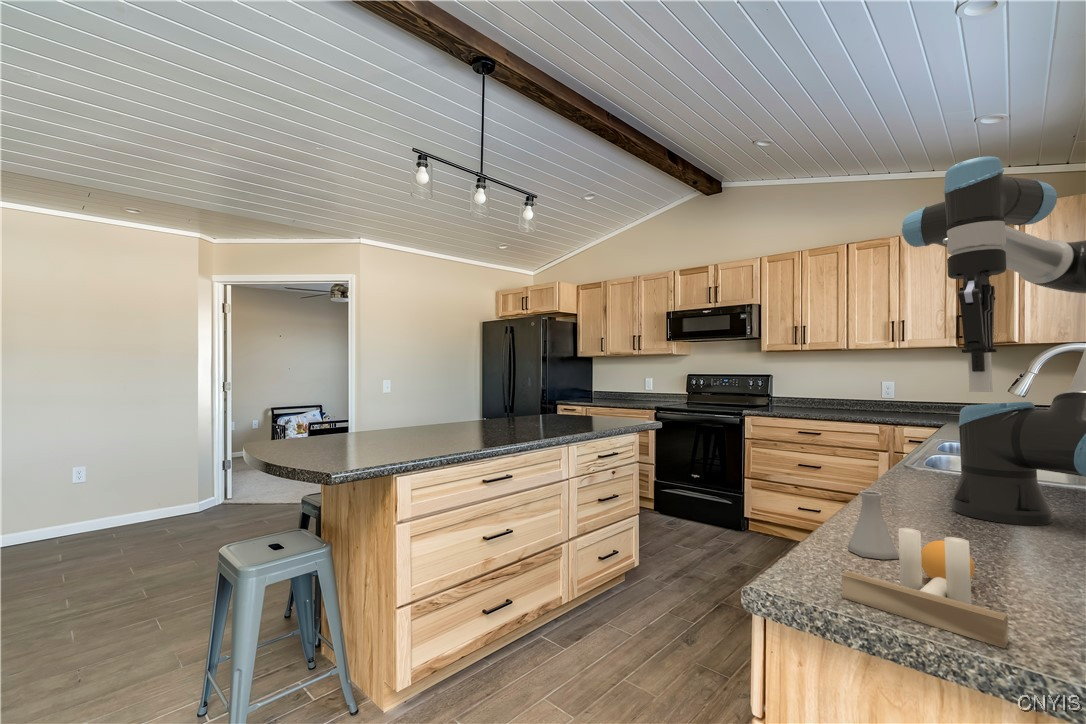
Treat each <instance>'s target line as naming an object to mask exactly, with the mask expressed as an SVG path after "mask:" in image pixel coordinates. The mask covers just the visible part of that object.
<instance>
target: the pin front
mask: <svg viewBox="0 0 1086 724" xmlns="http://www.w3.org/2000/svg"><path fill="white" fill-rule="evenodd" d="M919 591H923V592H927V593H930V594H934V595H938V596H941V597H945V598H947V592H946V579H944V578H941V577H936V578H933V579H930V581H929V582H928V583H926V584H925V585H923V588H922V589H920V590H919Z"/></svg>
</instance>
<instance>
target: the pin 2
mask: <svg viewBox="0 0 1086 724" xmlns="http://www.w3.org/2000/svg"><path fill="white" fill-rule="evenodd" d="M944 541H945V565H946V592H947V598H949V599H952V600H956V601H960V602H963V603H967V604H971V605H972V583H971V580H972V579H971V578H970V556H971V555H970V554H971V553H970V541H969V540H967V539H964V538H961V537H956V536H955V537H954V536H945V537H944Z"/></svg>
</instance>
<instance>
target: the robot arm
mask: <svg viewBox="0 0 1086 724" xmlns="http://www.w3.org/2000/svg"><path fill="white" fill-rule="evenodd" d="M1004 172H1005V169H1004V168H1003V163H1002V160H1001V158H1000V157H997V156H989V155H988V156H979V157H975V158H971V159H967V160H964V161H961V162H958V163H956V164H954V165H951V166H950V167H949V168H948V169H947V170H946V171H945V174H944V190H943V194H944V201H942V202H939V203H935V204H933V205H930V206H924V207H922V208H920V209H917V210H916V211H912V212H911V213H909V214H907V215H906V217H904V219H903V221H902V227H901V233H902V236H903V239H904V241H905V242H906V243H907V244H908V245H909V246H910V247H914V248H919V247H928V246H930V245H938V246H942V247H944V248H946V250H947V251H946V252H947V254H949V257H948V258H947V259H946V262H947V263H946V264H947V276H948V278H950V279H953V280H962V287H959V291H958V293H957V296H958V299H959V304H960V305H959V306H960V313H961V321H962V322H961V325H962V334H963V335H962V336H963V347H964V348H963V349H961V353H962V354H967V361H968V364H967V365H968V383H969V384H968V385H969V386H968V389H969V392H972V393H973V392H976V393H977V392H978V393H988V392H989V393H992V392H994V391H993V369H992V368H993V367H992V353H997V352H998V348H995V345H994V332H995V331H994V323H995V321H994V317H995V301H996V296H995V295H996V293H995V292H996V289H995V288H996V287H995V285H992V284H991V283H990V281H991V280H990V278H991V277H992V276H998V275H1001V274H1003V273H1005V272H1006V271H1007V270H1010V271H1011V272H1015V273H1018V275H1019V276H1020V277H1021V279H1023V280H1025V282H1028V283H1030V284H1034V285H1036V286H1039V287H1043V288H1048V289H1050V290H1051V289H1052V290H1056V291H1063V292H1068V293H1076V294H1086V240H1080V241H1079V240H1078V241H1069V242H1068V241H1067V242H1066V241H1063V240H1060V239H1047V240H1045V239H1042V238H1040V237H1037V236H1034V235H1032V234H1029V233H1026V232H1024V231H1022V230H1019V229H1016V228H1013V227H1011V226H1008V225H1013V226H1023V225H1024V226H1026V225H1034V224H1037V223H1038V222H1041V221H1042V220H1044V219H1046V218H1047V217H1049V215H1050V214H1051V213H1052V212H1053V211H1054V209H1055V206H1056V205H1057V202H1058V194H1057V191H1056V189H1055V188H1054V187H1053V186H1052V185H1051V184H1049V183H1047V182H1043V181H1040V180H1038V179H1034V178H1024V177H1023V178H1022V177H1017V176H1015V177H1014V176H1008V175H1005V174H1004ZM957 427H958V431H959V451H960V453H959V454H960V455H959V456H960V470H961V471H960V476H959V479H958V481H957V484H956V487H955V489H954V492H953V495H952V497H951V509H952V510H953V512H955V513H957V514H961V515H962V516H963V515H964V516H967V517H971V518H974V519H978V520H984V521H990V522H996V523H1002V524H1012V525H1024V526H1025V525H1026V526H1028V525H1029V526H1039V525H1048V524H1051V523H1052V510H1051V508H1050V505H1049V503H1048V501H1047V498H1045V495H1044V493H1043V490H1042V489H1041V487H1040V484H1039V482H1038V472H1037V471H1038V470H1039V471H1045V472H1053V473H1057V474H1063V475H1064V474H1066V475H1071V476H1080V477H1085V478H1086V347H1085V348H1084V351H1083V354H1082V357H1081V358H1080V361H1079V363H1078V366H1077V369H1076V370H1075V374H1074V376H1073V379H1072V382H1071V384H1070V385H1069V388H1068V390H1066V391H1063V392H1060V393H1058V394H1056V395H1055V396H1053V399H1052V401H1051V405H1050V406H1049V408H1048V409H1037V408H1036V406H1035V404H1034V402H1032V401H1018V402H1017V401H1014V402H1000V403H999V402H997V403H985V404H984V403H983V404H970V405H969V404H968V405H965V406H964V407H962V408H961V409H960V411H959V420H958V425H957Z"/></svg>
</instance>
